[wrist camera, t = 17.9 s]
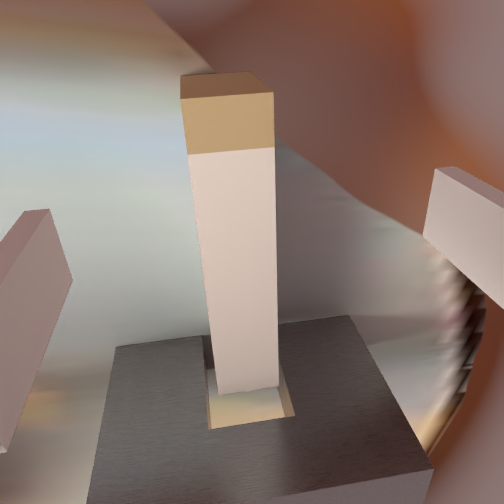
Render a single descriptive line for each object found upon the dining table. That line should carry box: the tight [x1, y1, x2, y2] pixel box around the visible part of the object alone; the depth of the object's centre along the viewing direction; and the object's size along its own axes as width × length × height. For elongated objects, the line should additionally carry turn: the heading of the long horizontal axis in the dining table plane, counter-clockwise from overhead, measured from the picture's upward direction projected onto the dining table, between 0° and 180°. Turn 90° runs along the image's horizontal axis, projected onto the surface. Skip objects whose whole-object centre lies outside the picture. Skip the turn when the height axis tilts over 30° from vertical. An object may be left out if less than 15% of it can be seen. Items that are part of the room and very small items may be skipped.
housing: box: [86, 315, 434, 504], centre depth 36 cm, size 5×24×17 cm, turn 93°
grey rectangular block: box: [180, 71, 279, 395], centre depth 32 cm, size 23×5×9 cm, turn 3°
